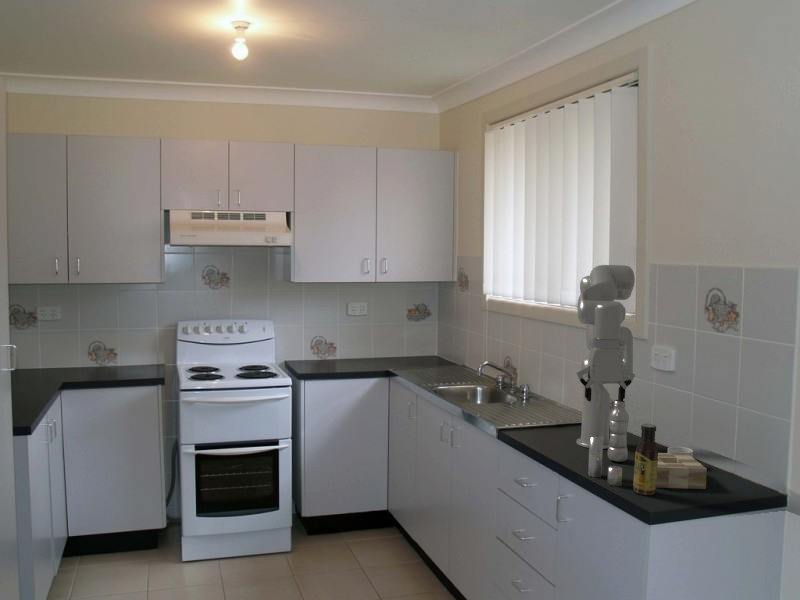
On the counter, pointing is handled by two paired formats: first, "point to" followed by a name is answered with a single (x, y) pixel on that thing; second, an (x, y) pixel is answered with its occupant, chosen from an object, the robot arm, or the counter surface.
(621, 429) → the plastic bottle
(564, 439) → the counter surface
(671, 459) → the hole block
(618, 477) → the short pin
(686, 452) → the teacup
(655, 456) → the sauce bottle
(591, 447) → the long pin
